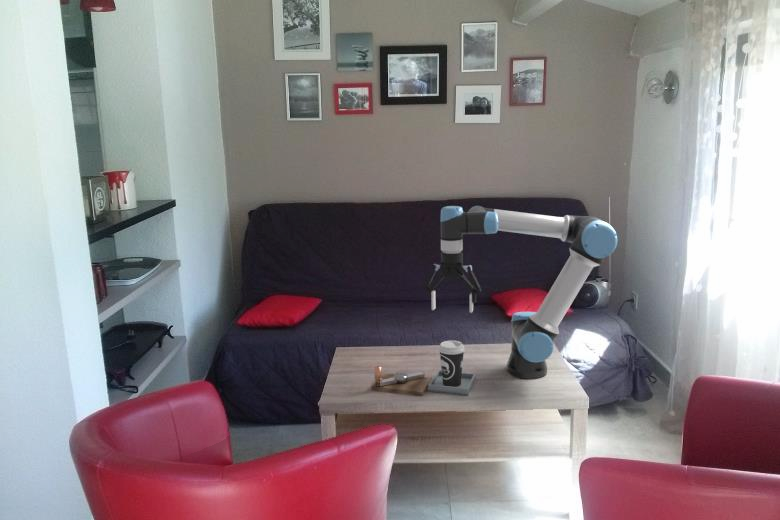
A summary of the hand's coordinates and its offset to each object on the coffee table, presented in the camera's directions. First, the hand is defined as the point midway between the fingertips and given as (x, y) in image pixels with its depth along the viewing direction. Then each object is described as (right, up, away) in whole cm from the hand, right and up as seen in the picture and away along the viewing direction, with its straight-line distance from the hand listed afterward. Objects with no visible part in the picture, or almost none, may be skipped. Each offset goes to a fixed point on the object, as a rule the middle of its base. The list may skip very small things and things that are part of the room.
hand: (452, 310), depth 223 cm
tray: (+1, -28, +6) cm, 28 cm away
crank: (-18, -26, +7) cm, 33 cm away
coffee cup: (0, -27, +6) cm, 28 cm away
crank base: (-18, -28, +7) cm, 34 cm away
